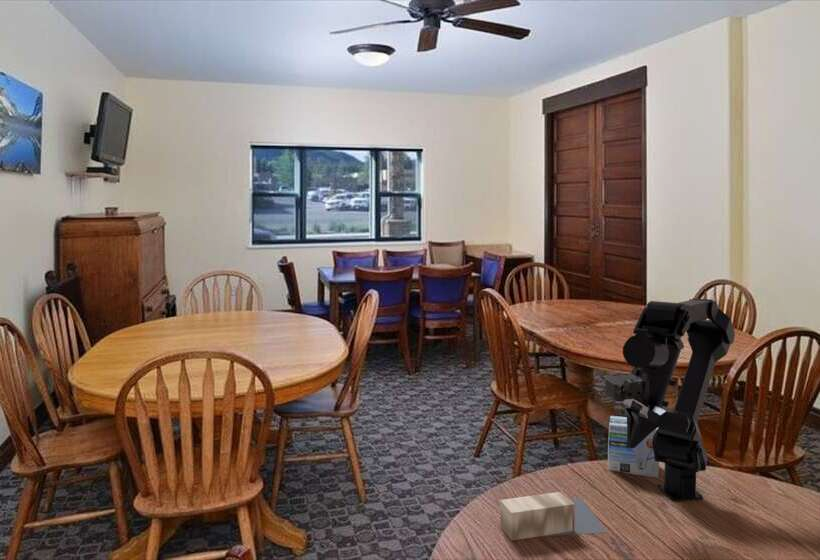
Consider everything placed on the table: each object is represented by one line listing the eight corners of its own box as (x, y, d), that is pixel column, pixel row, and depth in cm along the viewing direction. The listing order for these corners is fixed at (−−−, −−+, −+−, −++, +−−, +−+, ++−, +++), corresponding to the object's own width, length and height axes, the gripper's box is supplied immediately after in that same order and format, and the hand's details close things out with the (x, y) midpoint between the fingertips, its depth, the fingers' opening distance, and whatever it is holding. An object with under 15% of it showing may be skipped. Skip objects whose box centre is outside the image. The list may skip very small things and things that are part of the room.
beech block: (561, 491, 111) (500, 499, 108) (574, 503, 106) (511, 512, 103) (560, 517, 111) (500, 526, 108) (574, 530, 106) (511, 540, 103)
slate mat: (504, 504, 118) (504, 502, 117) (581, 500, 118) (581, 498, 118) (520, 539, 105) (520, 537, 105) (607, 534, 106) (607, 532, 106)
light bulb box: (607, 471, 132) (608, 424, 131) (608, 460, 138) (609, 414, 137) (660, 478, 128) (661, 429, 127) (658, 465, 134) (659, 419, 133)
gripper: (594, 345, 118) (570, 419, 119) (648, 374, 100) (620, 461, 101) (642, 358, 120) (618, 430, 122) (704, 388, 102) (675, 473, 104)
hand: (630, 447), depth 112 cm, fingers closed
